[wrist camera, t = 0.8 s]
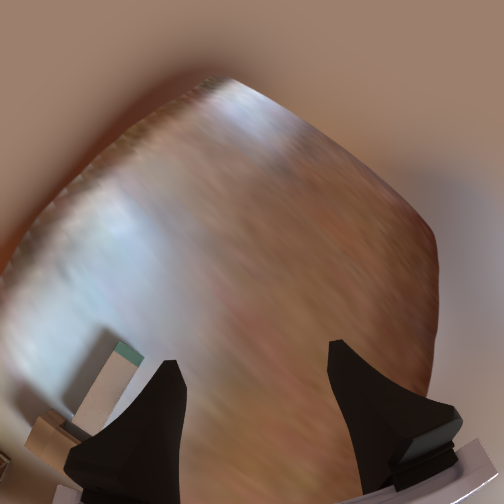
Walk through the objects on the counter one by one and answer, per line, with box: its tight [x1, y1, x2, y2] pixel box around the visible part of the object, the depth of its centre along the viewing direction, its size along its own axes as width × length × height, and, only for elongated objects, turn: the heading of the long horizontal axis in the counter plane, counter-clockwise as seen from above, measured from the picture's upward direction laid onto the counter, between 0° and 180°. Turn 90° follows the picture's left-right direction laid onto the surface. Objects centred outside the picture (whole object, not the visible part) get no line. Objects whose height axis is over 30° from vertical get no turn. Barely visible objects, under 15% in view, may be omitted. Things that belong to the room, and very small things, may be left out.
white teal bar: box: [72, 341, 144, 436], centre depth 22 cm, size 10×3×3 cm, turn 152°
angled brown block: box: [24, 409, 82, 483], centre depth 17 cm, size 4×8×5 cm, turn 62°
